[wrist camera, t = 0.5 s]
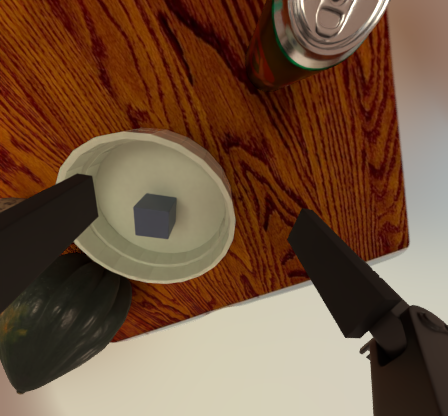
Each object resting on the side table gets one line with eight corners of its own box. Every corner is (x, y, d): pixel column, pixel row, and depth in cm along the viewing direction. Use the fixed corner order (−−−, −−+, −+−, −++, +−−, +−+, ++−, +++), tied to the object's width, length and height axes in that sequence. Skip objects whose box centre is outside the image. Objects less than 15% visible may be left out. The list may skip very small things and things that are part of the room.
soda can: (304, 35, 17) (447, -98, 6) (285, 97, 19) (363, 78, 8) (252, 20, 16) (310, -156, 6) (239, 85, 18) (261, 49, 8)
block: (146, 192, 23) (132, 206, 20) (176, 197, 24) (169, 212, 20) (147, 218, 25) (135, 235, 22) (175, 222, 26) (168, 239, 22)
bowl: (90, 100, 19) (45, 96, 14) (254, 161, 22) (264, 174, 17) (89, 237, 27) (61, 263, 23) (208, 266, 31) (206, 295, 26)
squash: (79, 245, 21) (-105, 395, 14) (162, 306, 28) (68, 430, 20) (74, 232, 32) (-31, 314, 24) (135, 279, 39) (67, 354, 31)
